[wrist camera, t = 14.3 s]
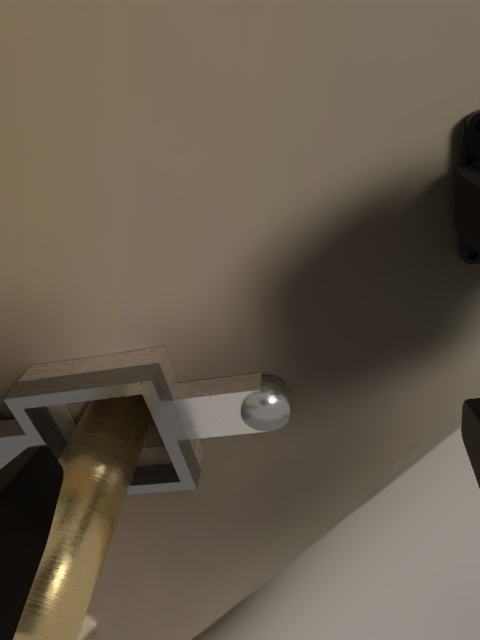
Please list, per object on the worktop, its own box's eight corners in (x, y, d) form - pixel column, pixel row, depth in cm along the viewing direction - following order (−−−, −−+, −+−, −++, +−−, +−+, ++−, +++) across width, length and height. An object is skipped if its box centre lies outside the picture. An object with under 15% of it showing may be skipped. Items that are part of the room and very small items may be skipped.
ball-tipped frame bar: (276, 330, 23) (276, 364, 21) (299, 441, 27) (302, 481, 25) (-60, 378, 27) (-96, 412, 24) (6, 469, 31) (-18, 506, 29)
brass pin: (119, 375, 26) (0, 617, 15) (166, 415, 27) (89, 662, 16) (78, 404, 27) (-59, 643, 16) (124, 441, 29) (28, 682, 18)
